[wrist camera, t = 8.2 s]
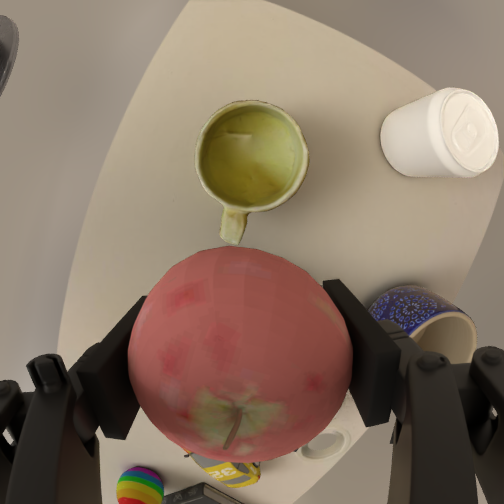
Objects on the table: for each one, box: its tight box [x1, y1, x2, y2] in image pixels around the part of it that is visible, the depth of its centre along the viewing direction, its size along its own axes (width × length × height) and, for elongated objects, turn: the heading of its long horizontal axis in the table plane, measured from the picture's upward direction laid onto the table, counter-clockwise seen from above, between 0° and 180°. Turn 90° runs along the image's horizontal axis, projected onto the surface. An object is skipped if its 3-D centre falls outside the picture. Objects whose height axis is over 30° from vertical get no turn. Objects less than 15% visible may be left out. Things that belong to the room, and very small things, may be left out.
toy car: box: [183, 448, 261, 488], centre depth 37 cm, size 8×17×5 cm, turn 29°
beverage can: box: [380, 87, 499, 178], centre depth 25 cm, size 8×8×12 cm
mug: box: [194, 100, 309, 245], centre depth 27 cm, size 12×10×10 cm
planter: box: [368, 285, 477, 364], centre depth 30 cm, size 11×11×11 cm
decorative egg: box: [116, 467, 164, 504], centre depth 37 cm, size 8×8×10 cm
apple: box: [128, 246, 353, 463], centre depth 10 cm, size 7×7×8 cm
